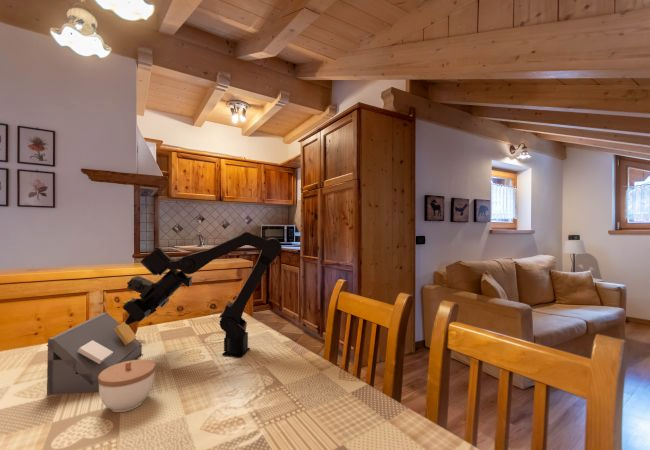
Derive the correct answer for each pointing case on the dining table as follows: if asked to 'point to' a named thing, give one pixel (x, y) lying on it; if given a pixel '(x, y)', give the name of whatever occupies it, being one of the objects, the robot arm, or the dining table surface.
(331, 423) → the dining table surface
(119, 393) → the lidded jar
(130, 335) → the block
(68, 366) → the switch console
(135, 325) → the carrot
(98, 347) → the block
